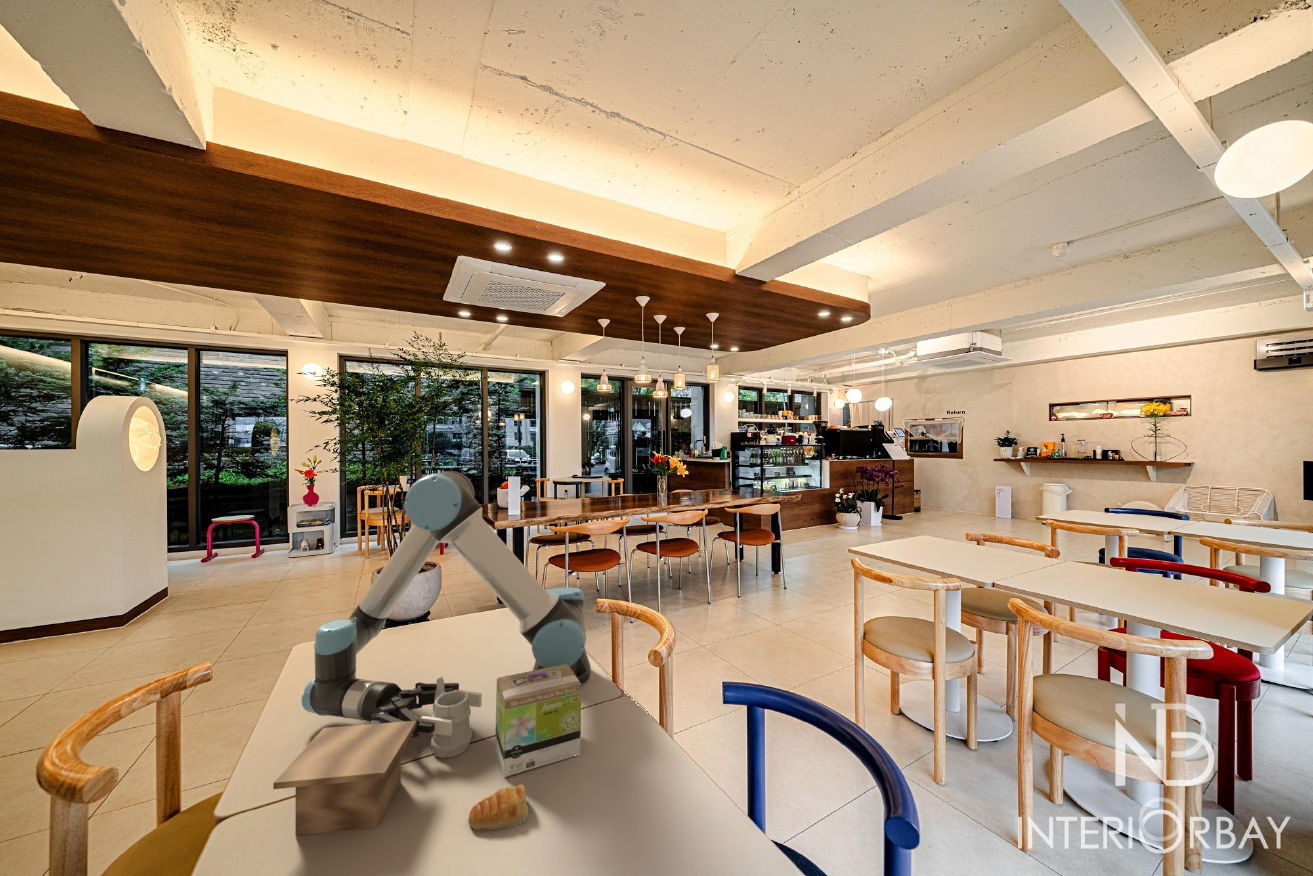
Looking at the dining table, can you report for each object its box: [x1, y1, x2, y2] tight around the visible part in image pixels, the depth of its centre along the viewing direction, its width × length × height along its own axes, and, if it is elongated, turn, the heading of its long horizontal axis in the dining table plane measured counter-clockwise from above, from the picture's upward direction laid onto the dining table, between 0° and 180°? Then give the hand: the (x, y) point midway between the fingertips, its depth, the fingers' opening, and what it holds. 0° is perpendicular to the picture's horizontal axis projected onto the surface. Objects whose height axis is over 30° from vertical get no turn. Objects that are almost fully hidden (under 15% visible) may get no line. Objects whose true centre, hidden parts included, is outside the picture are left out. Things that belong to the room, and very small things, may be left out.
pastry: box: [467, 783, 529, 831], centre depth 79 cm, size 9×7×4 cm
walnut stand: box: [272, 721, 417, 837], centre depth 81 cm, size 16×14×10 cm
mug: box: [430, 676, 473, 759], centre depth 98 cm, size 8×12×12 cm, turn 46°
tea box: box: [494, 664, 582, 778], centre depth 95 cm, size 15×10×15 cm, turn 117°
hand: (466, 713), depth 97 cm, fingers open, 9 cm apart
